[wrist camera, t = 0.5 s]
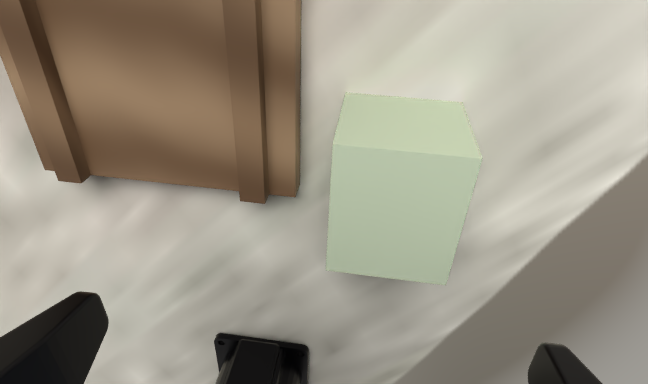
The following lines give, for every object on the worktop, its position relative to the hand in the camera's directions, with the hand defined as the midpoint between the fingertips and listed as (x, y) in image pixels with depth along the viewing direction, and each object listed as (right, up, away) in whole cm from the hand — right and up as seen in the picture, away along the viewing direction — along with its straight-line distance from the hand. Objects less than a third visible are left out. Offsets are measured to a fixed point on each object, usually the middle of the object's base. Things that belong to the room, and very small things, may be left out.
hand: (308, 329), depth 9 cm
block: (+4, +4, +11) cm, 13 cm away
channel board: (-7, +10, +9) cm, 15 cm away
